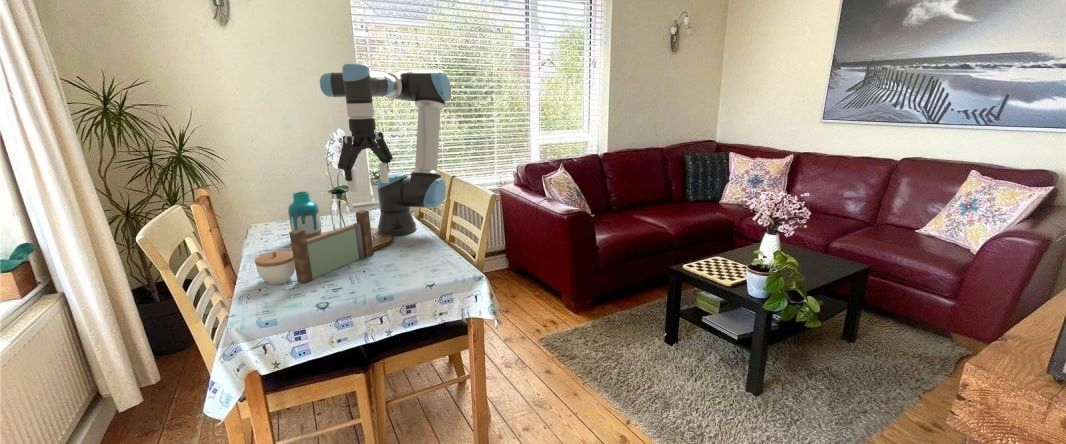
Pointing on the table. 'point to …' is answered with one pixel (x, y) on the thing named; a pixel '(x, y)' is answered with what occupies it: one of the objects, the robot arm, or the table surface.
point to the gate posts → (302, 249)
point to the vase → (304, 215)
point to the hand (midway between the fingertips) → (369, 186)
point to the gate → (335, 249)
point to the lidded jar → (276, 266)
